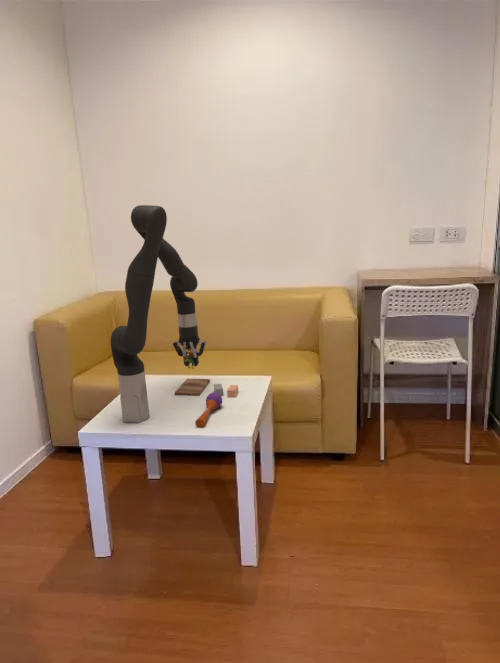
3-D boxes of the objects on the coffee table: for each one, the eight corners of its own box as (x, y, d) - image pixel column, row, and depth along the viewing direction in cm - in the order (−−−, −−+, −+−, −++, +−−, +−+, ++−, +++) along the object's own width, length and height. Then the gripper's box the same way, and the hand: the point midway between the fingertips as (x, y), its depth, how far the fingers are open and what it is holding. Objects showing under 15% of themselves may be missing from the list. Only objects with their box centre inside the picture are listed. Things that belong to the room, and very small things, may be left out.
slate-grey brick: (223, 396, 201) (222, 388, 201) (215, 396, 201) (215, 389, 200) (221, 390, 207) (221, 383, 206) (214, 391, 207) (213, 384, 206)
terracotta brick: (235, 397, 199) (234, 390, 198) (227, 397, 199) (226, 390, 199) (238, 392, 205) (237, 385, 204) (230, 392, 205) (230, 385, 204)
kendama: (189, 416, 174) (206, 391, 192) (194, 432, 175) (211, 405, 194) (205, 414, 172) (221, 388, 190) (210, 430, 174) (226, 403, 192)
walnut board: (199, 395, 203) (199, 392, 202) (175, 395, 205) (174, 392, 204) (210, 381, 218) (209, 378, 218) (187, 381, 220) (186, 378, 220)
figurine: (202, 363, 214) (200, 344, 212) (187, 373, 203) (185, 353, 201) (195, 363, 215) (193, 344, 213) (180, 372, 204) (178, 353, 202)
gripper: (167, 326, 202) (171, 368, 207) (202, 326, 200) (205, 368, 204) (173, 322, 210) (177, 362, 214) (207, 321, 207) (210, 362, 211)
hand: (191, 365), depth 209 cm, fingers closed on figurine, 3 cm apart
